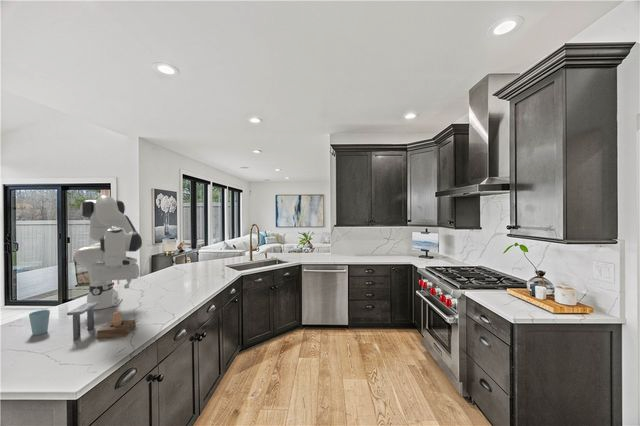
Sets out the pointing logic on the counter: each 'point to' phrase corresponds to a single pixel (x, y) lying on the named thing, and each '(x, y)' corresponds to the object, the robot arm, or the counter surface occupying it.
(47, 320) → the cup
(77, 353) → the counter surface
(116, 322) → the peg
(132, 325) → the socket
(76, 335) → the grey u-shaped bracket
